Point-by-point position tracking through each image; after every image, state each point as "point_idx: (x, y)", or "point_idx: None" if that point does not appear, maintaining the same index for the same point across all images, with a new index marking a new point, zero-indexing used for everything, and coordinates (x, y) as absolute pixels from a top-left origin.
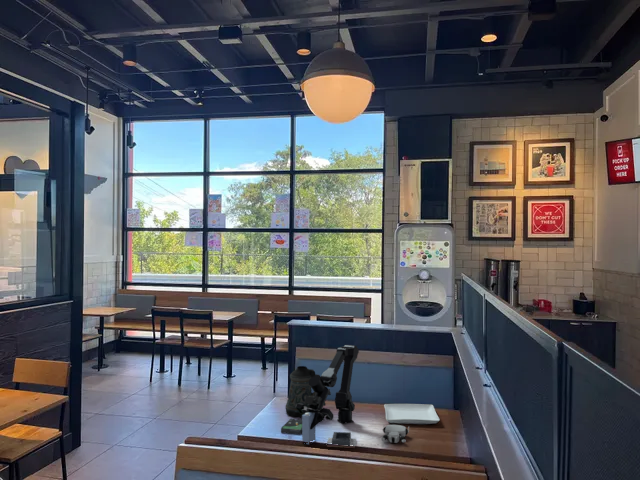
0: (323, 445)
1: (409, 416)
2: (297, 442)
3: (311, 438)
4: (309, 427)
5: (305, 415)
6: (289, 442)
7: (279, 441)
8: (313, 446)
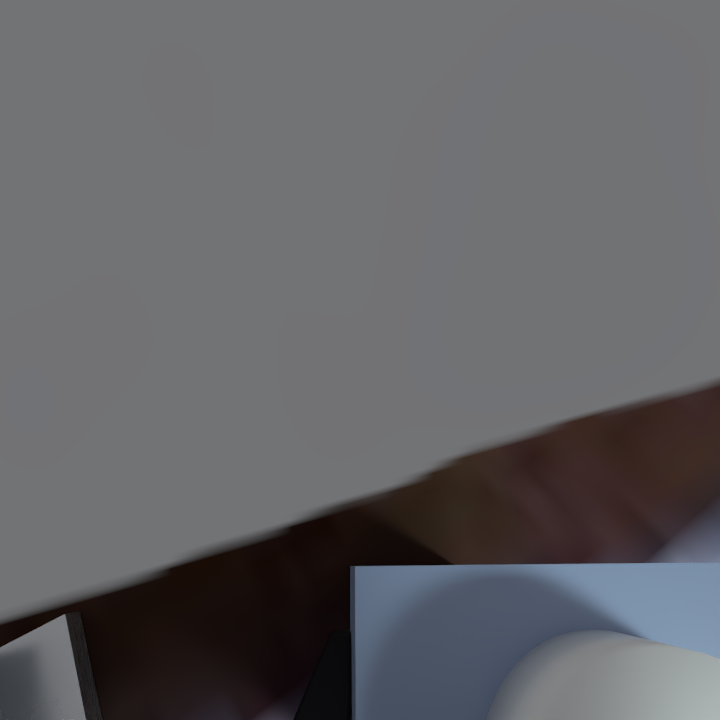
0: (150, 666)
1: None
2: (515, 542)
3: None
4: (351, 607)
5: (635, 640)
6: (588, 484)
7: (695, 443)
8: (262, 547)
